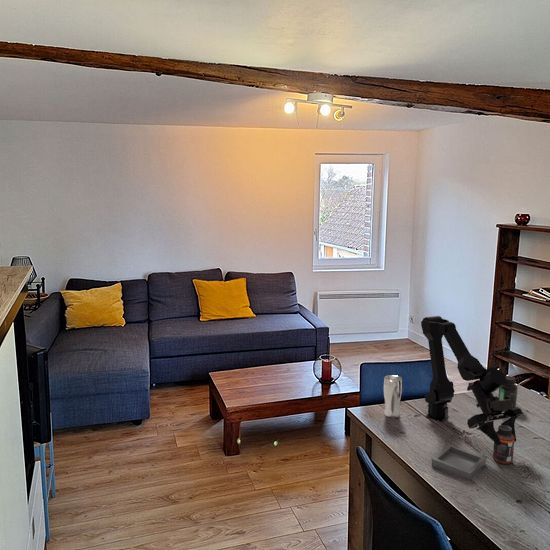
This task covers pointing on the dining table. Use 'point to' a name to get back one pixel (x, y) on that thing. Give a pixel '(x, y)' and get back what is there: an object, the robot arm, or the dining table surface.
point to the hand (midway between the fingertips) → (507, 443)
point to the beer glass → (392, 395)
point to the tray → (459, 462)
